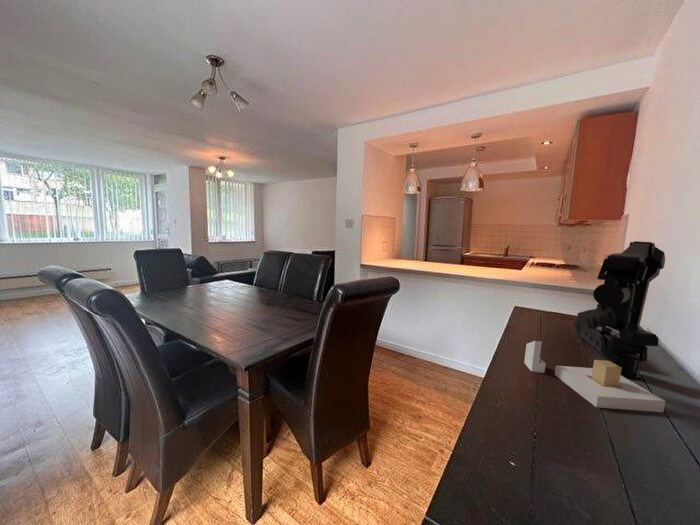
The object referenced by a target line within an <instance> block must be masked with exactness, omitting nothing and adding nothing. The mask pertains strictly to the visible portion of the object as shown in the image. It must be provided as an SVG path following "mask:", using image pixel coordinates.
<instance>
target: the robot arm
mask: <svg viewBox="0 0 700 525" xmlns="http://www.w3.org/2000/svg"><path fill="white" fill-rule="evenodd" d="M665 255H666V254H665V251H663V250H661V249H660V248H658V247H657V246H656V244H655V242H651V241H636V240H635V241H630V243H629V245H628V247H627V248H626V249H624V250H623V251H622V252H620V253H619V252H618V253H611V254H608V256H607V257H606V258H604V259H603V262H602V265H601V268H600V270H599V272H598V275H597V277H596V278H597V280H599V281H600V280H601V281H604V283H602V284H600V285H598V286H597V287H596V288H595V289H594V290H593V293H592V296H593V299H594V300H595V302H596V303H598V304H596V308H594V309H587V310H584V311H580V312H577V318H576V319H577V321H579V323H580V325H583V326H586V327H587V328H589V329H592V330H594V331H595V332H596V333H597V334H598V335H599V336H600V339H601V342H602V345H603V349H604V353H605V356H606V357H607V358H608V359H607V358H606V359H607V361H610V362H612V363H614V364H616V365H618V366H620V367H622V369H621V376H623V377H625V378H626V379H629V380H632V379H633V380H642V377H641V376H639V375H638V369H639V363H642V362H647V361H648V353H649V352H648V351H649V350H648V349H649V348H648V347H658V345H659V340H660V338H659V337H658V336H657V334H655V333H653V332H649V331H647V330H644V329H640V328H641V327H640V326H641V321H642V316H643V312H644V309H645V304H646V299H647V295H648V290H649V286H650V283H651V282H652V281H653V280H655V279H656V278H657V277H658V276H660V273H661V272H660V271H661V270H664V268H665V264H666V256H665Z"/></svg>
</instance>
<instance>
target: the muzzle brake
mask: <svg viewBox="0 0 700 525" xmlns="http://www.w3.org/2000/svg"><path fill="white" fill-rule="evenodd" d="M572 327H573V330H574V332H576V334H577V335H578V336H579V337H581V339H584V340H585V341H586V343H588V344H589V343H590V344H591V345H590V344H589V345H590V346H592V347H593V348H594V349H595V350H597V352H599V354H600V355H602V356H603V357H605V358H606V359H607V360H608V358H607V357H606V356H605V353H604V349H603V345H602V342H601V339H600V336H599V335H598V334H597V333H596V332H595V331H594V330H592V329H589V328H587V327H586V326H583V325H580V323H579V321H577V318H576V319H575V320H574V322H573V326H572Z"/></svg>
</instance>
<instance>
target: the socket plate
mask: <svg viewBox="0 0 700 525" xmlns="http://www.w3.org/2000/svg"><path fill="white" fill-rule="evenodd" d="M592 371H593V367H580V366H569V365H568V366H566V365H555V369H554V376H556V377H557V378H558V379H559V380H561V381H562V382H563V383H564V384H566V385H567V386H568V387H570V388H571V389H572V390H573V391H575V392H576V393H577V394H578V395H580V396H581V397H582V398H583V399H585V400H586V401H588V402H589V403H590V404H592V406H594V407H595V408H600V409H601V408H603V409H612V410H613V409H615V410H616V409H617V410H625V411H626V410H628V411H641V412H642V411H643V412H653V413H655V412H656V413H664V411H665V405H666V400H664V399H663V398H661V397H659V396H658V395H656V394H654V393H651V392H650V391H649V390H647V389H646V388H643V387H642V386H640V385H638V384H636V383H635V382H633V381H632V380H631V379H629V378H625V377H623V376H621V375H620V381H619V387H618V388H615V387H602V386H601V385H599V384H598V383H596V382H595V381H593V380H592V379H591V378H592Z"/></svg>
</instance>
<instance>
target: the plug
mask: <svg viewBox="0 0 700 525" xmlns="http://www.w3.org/2000/svg"><path fill="white" fill-rule="evenodd" d="M592 368H593V371H592V378H591V379H592V380H593V381H595V382H596V383H598V384H599V385H601V386H602V387H615V388H618V387H619V381H620V375H621V369H622V367H620V366H618V365H616V364H614V363H612V362H610V361H608V360H602V359H594V360H593V365H592Z"/></svg>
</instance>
